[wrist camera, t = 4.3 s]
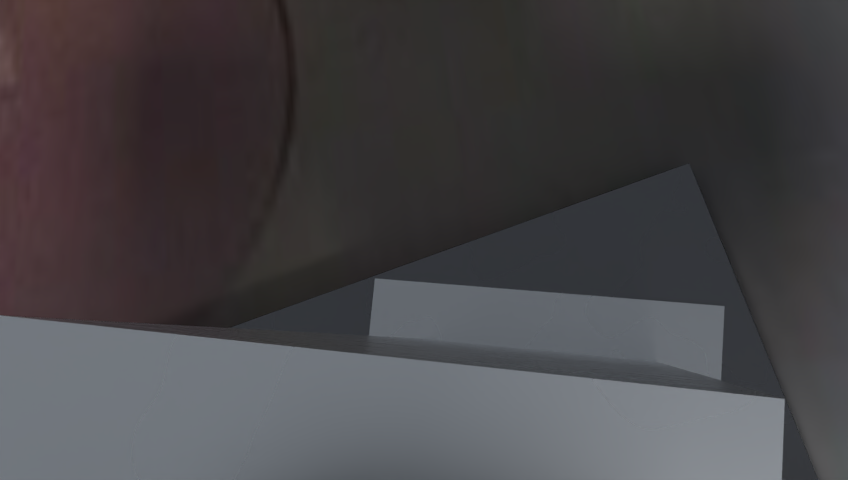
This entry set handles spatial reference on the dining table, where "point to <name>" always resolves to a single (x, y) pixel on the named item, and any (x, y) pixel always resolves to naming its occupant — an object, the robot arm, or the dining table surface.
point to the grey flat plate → (577, 293)
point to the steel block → (359, 409)
